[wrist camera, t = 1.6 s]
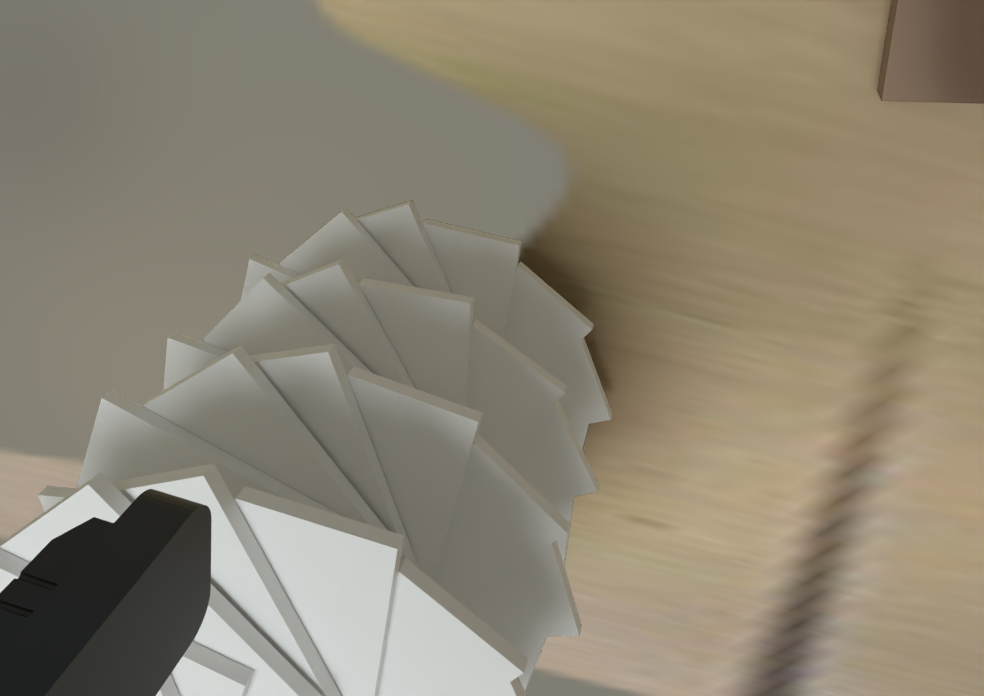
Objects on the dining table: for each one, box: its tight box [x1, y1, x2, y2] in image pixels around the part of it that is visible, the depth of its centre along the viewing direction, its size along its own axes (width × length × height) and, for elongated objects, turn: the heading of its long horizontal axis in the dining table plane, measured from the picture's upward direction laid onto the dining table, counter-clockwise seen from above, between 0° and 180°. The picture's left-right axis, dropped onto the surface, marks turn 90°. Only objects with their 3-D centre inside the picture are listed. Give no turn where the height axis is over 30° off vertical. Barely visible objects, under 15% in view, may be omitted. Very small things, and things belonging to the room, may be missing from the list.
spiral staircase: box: [0, 200, 612, 696], centre depth 34 cm, size 18×18×25 cm
